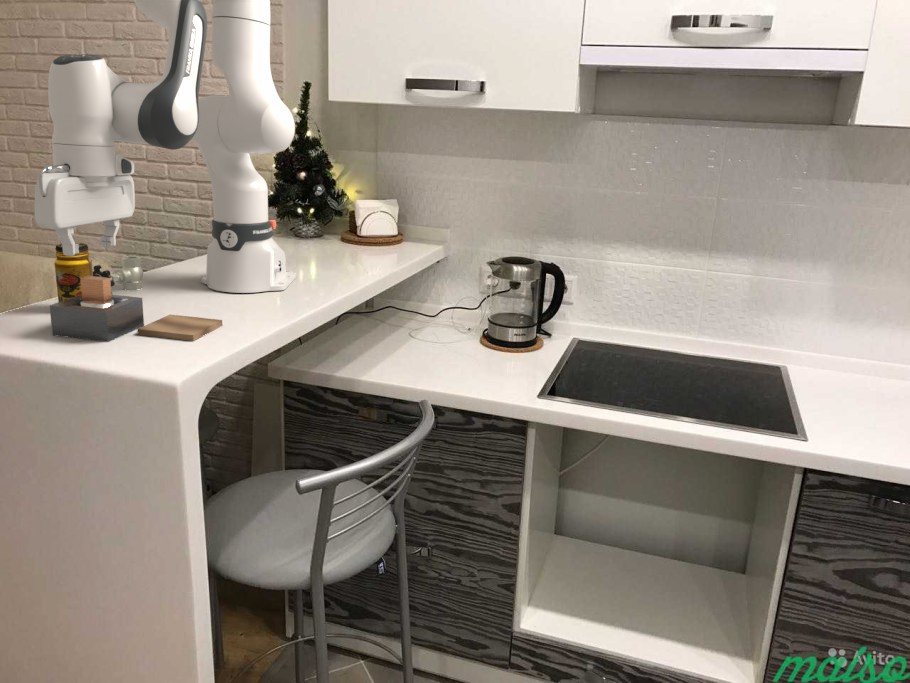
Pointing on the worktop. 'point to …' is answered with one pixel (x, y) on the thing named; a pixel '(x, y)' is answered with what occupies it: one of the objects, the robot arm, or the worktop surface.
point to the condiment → (71, 271)
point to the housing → (97, 318)
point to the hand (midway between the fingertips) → (90, 250)
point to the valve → (124, 273)
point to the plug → (96, 292)
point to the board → (180, 327)
